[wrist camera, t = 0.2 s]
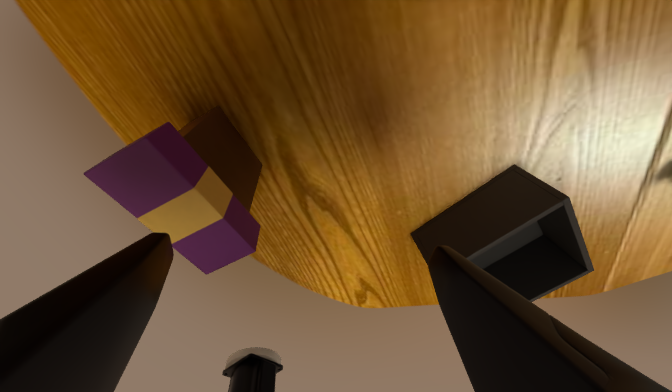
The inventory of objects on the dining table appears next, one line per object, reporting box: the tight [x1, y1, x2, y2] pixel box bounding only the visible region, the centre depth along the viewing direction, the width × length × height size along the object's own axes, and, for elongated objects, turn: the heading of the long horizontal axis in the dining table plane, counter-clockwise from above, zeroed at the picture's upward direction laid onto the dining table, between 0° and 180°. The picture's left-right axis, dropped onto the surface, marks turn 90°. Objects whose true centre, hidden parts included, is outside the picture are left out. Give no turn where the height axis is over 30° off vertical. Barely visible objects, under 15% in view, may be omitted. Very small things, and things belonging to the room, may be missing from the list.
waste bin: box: [411, 165, 594, 302], centre depth 29 cm, size 13×13×6 cm
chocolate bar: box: [84, 122, 260, 274], centre depth 14 cm, size 8×4×2 cm, turn 26°
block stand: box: [178, 106, 262, 212], centre depth 19 cm, size 6×3×8 cm, turn 26°
